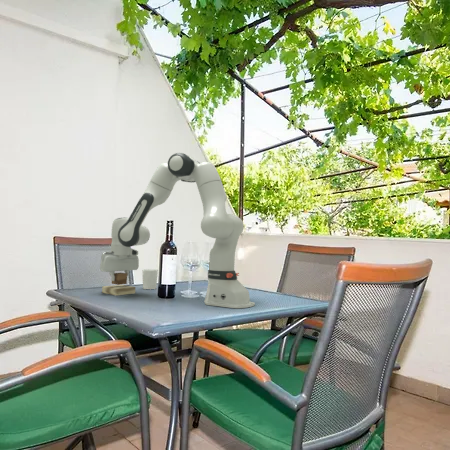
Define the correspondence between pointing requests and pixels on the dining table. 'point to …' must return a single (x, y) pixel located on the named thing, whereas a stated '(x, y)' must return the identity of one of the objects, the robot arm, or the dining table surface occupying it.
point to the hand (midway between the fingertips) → (119, 280)
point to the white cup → (149, 278)
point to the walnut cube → (120, 278)
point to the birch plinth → (118, 289)
